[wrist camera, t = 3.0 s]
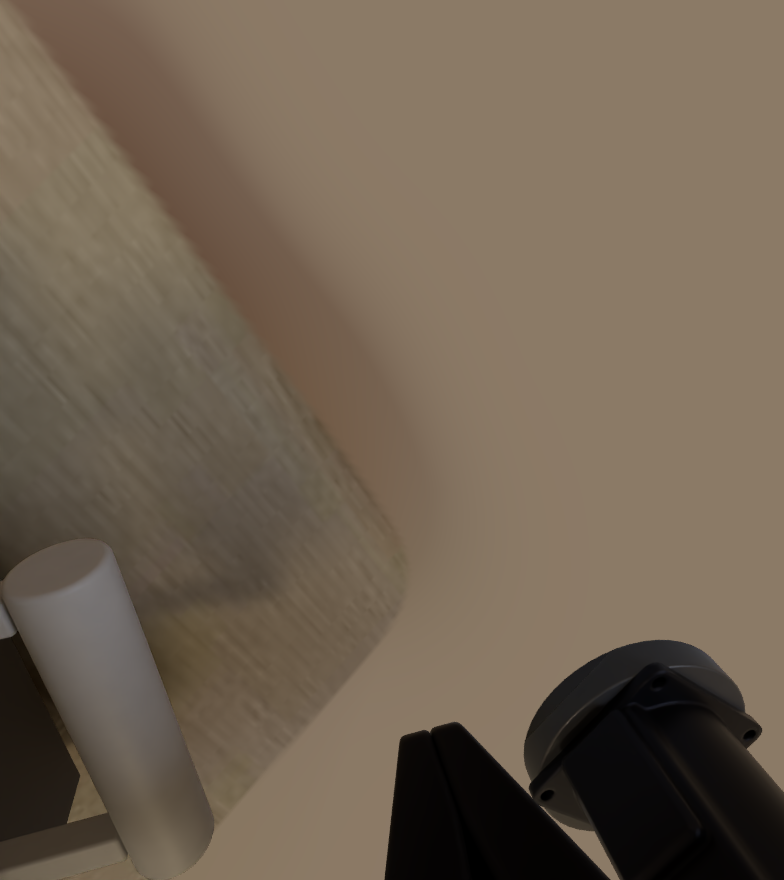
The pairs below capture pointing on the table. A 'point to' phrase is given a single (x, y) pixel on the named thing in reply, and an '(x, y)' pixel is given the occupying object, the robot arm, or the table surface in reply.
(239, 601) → the table surface
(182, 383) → the table surface
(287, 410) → the table surface
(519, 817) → the robot arm
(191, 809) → the drawer
